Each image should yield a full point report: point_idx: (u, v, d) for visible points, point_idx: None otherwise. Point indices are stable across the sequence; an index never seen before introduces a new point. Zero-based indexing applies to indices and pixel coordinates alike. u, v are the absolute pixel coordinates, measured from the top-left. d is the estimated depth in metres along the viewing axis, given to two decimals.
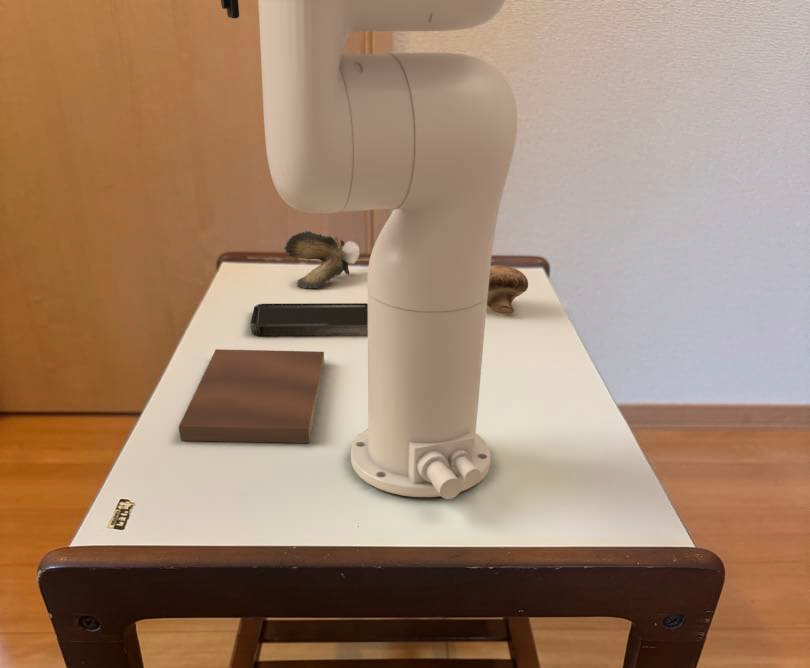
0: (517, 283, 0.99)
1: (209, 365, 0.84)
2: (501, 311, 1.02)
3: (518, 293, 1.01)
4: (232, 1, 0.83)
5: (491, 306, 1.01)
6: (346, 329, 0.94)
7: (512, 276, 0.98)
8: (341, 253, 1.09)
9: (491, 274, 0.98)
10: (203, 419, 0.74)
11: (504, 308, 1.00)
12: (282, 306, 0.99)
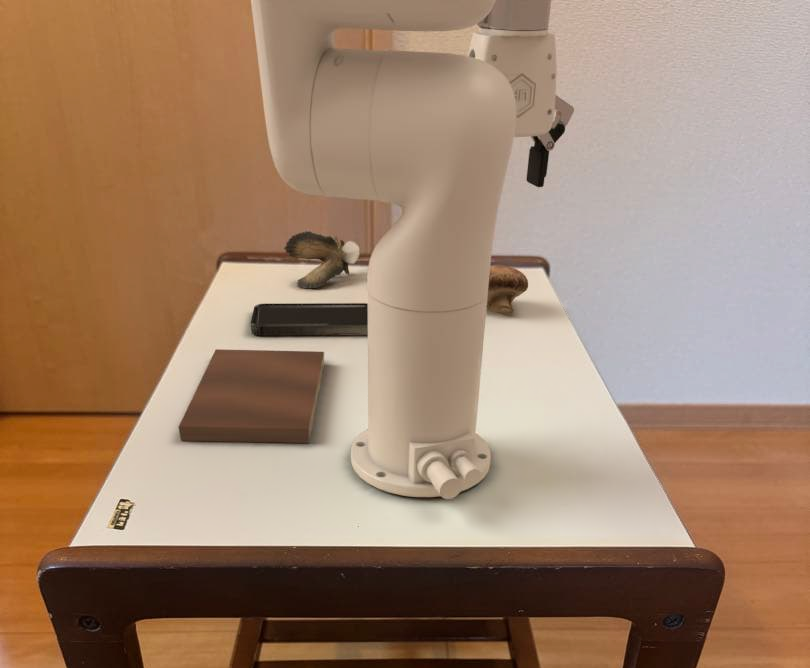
0: (517, 283, 0.99)
1: (209, 365, 0.84)
2: (501, 311, 1.02)
3: (518, 293, 1.01)
4: None
5: (491, 306, 1.01)
6: (346, 329, 0.94)
7: (512, 276, 0.98)
8: (341, 253, 1.09)
9: (491, 274, 0.98)
10: (203, 419, 0.74)
11: (504, 308, 1.00)
12: (282, 306, 0.99)
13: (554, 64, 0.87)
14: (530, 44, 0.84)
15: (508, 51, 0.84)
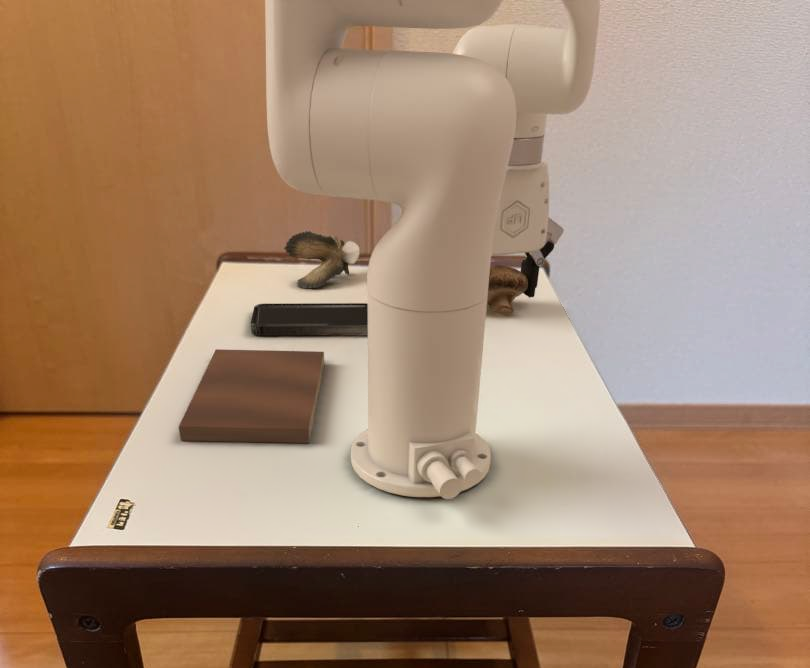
0: (517, 283, 0.99)
1: (209, 365, 0.84)
2: (501, 311, 1.02)
3: (518, 293, 1.01)
4: None
5: (491, 306, 1.01)
6: (346, 329, 0.94)
7: (512, 276, 0.98)
8: (341, 253, 1.09)
9: (491, 274, 0.98)
10: (203, 419, 0.74)
11: (504, 308, 1.00)
12: (282, 306, 0.99)
13: (547, 191, 0.94)
14: (525, 175, 0.92)
15: (505, 182, 0.91)
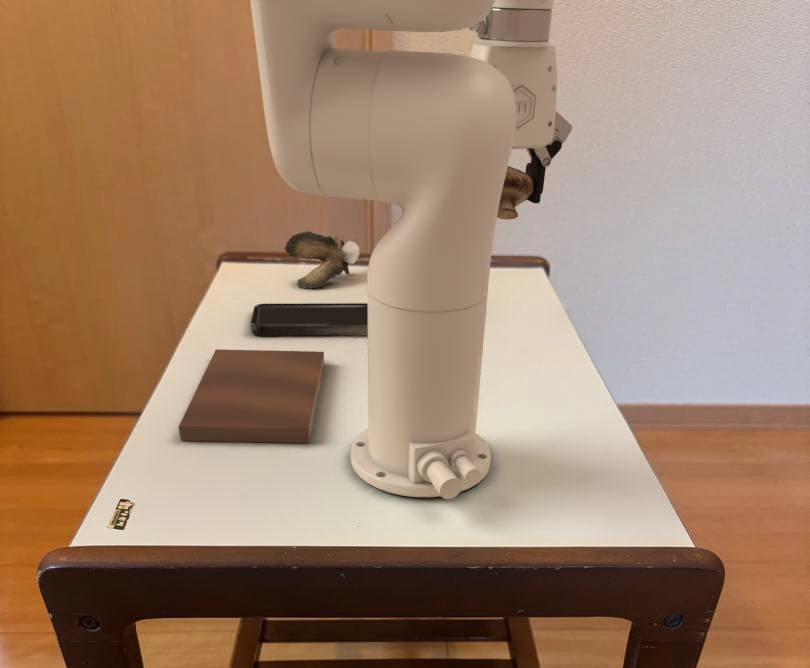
0: (522, 183, 0.91)
1: (209, 365, 0.84)
2: (504, 216, 0.93)
3: (522, 197, 0.93)
4: None
5: None
6: (346, 329, 0.94)
7: (516, 174, 0.90)
8: (341, 253, 1.09)
9: None
10: (203, 419, 0.74)
11: (507, 211, 0.92)
12: (282, 306, 0.99)
13: (555, 76, 0.86)
14: (531, 56, 0.84)
15: (509, 62, 0.83)
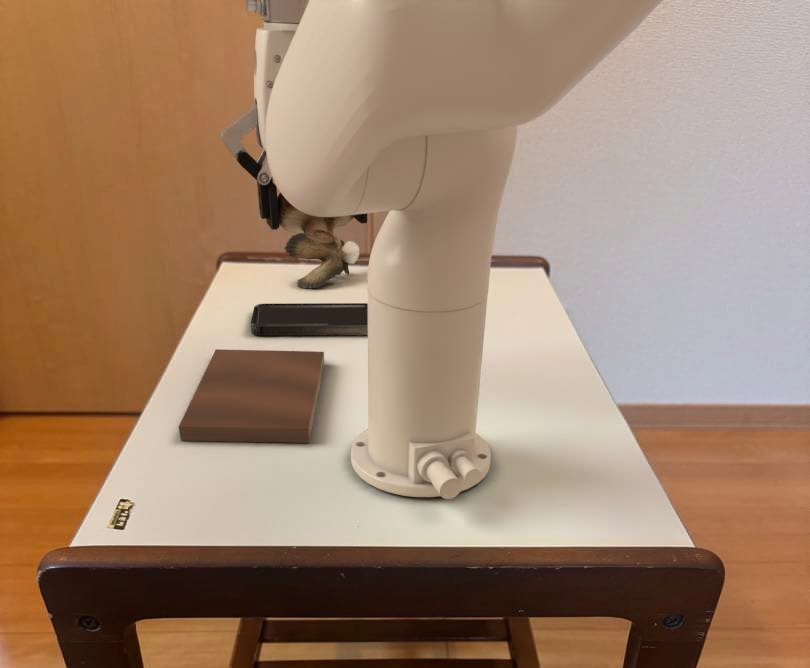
0: None
1: (209, 365, 0.84)
2: (320, 239, 0.76)
3: None
4: (272, 213, 0.74)
5: (305, 232, 0.76)
6: (346, 329, 0.94)
7: None
8: (341, 253, 1.09)
9: None
10: (203, 419, 0.74)
11: (320, 233, 0.75)
12: (282, 306, 0.99)
13: None
14: None
15: None
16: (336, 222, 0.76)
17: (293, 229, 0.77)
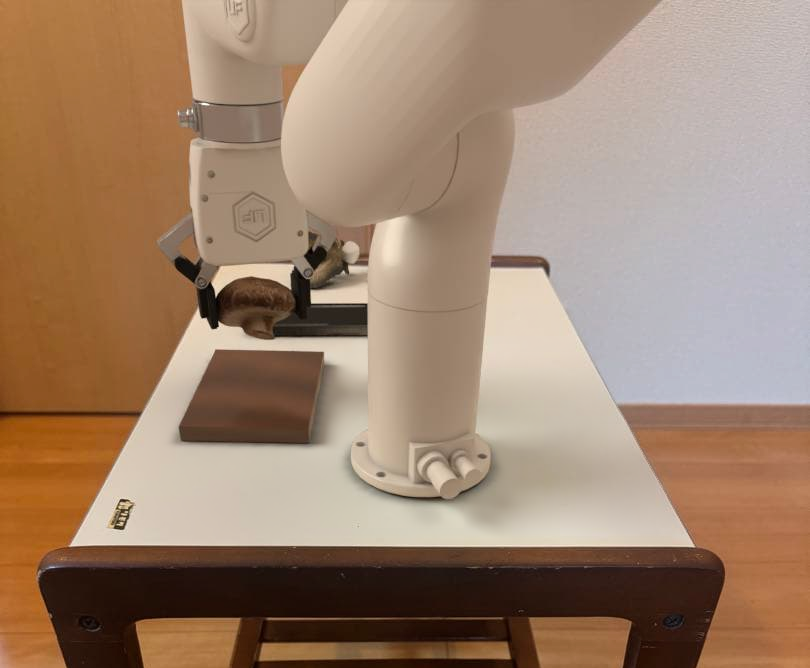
0: (273, 301, 0.75)
1: (209, 365, 0.84)
2: (260, 337, 0.77)
3: (282, 313, 0.77)
4: (211, 315, 0.75)
5: (244, 331, 0.76)
6: (346, 329, 0.94)
7: (264, 292, 0.74)
8: (341, 253, 1.09)
9: (236, 289, 0.74)
10: (203, 419, 0.74)
11: (260, 333, 0.76)
12: None
13: None
14: (259, 157, 0.67)
15: (229, 166, 0.67)
16: (275, 320, 0.77)
17: (233, 325, 0.78)
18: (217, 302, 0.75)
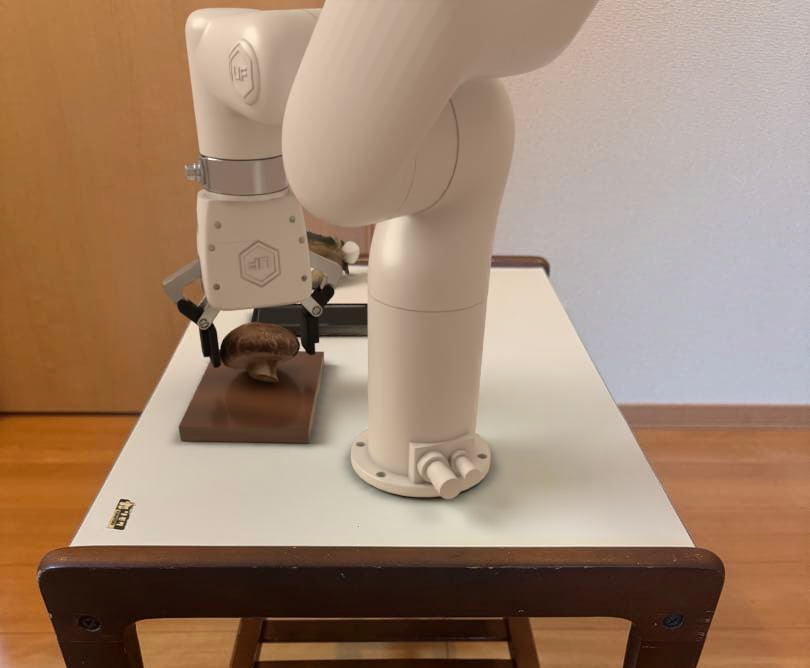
0: (276, 347, 0.77)
1: (209, 365, 0.84)
2: (264, 380, 0.80)
3: (285, 357, 0.80)
4: (213, 354, 0.77)
5: (249, 374, 0.79)
6: (346, 329, 0.94)
7: (268, 338, 0.77)
8: (341, 253, 1.09)
9: (240, 335, 0.77)
10: (203, 419, 0.74)
11: (264, 376, 0.79)
12: (282, 306, 0.99)
13: (301, 227, 0.72)
14: (263, 208, 0.70)
15: (235, 217, 0.69)
16: (279, 363, 0.80)
17: (238, 368, 0.81)
18: (223, 347, 0.78)
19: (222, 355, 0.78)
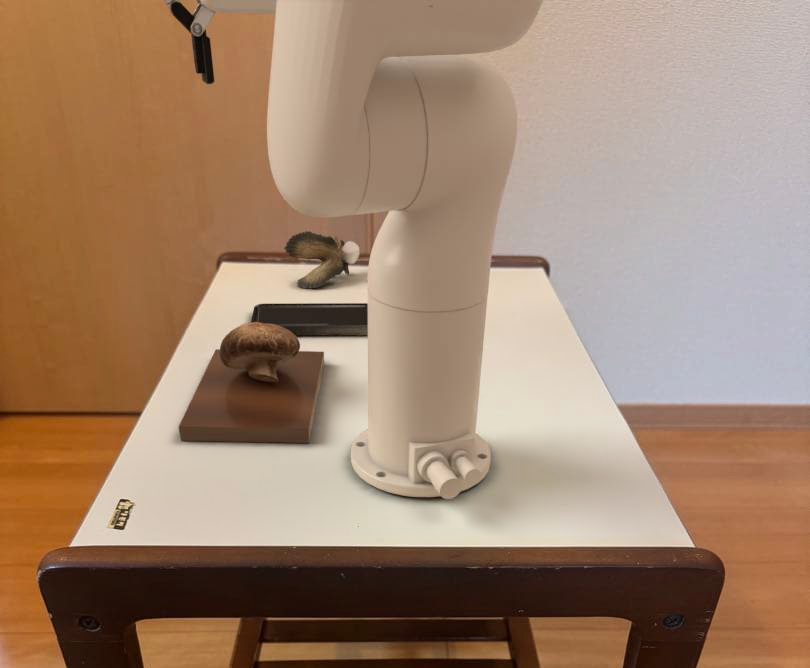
0: (276, 347, 0.77)
1: (209, 365, 0.84)
2: (264, 380, 0.80)
3: (285, 357, 0.80)
4: (206, 66, 0.77)
5: (249, 374, 0.79)
6: (346, 329, 0.94)
7: (268, 338, 0.77)
8: (341, 253, 1.09)
9: (240, 335, 0.77)
10: (203, 419, 0.74)
11: (264, 377, 0.79)
12: (282, 306, 0.99)
13: None
14: None
15: None
16: (279, 363, 0.80)
17: (238, 368, 0.81)
18: (223, 347, 0.78)
19: (222, 355, 0.78)
